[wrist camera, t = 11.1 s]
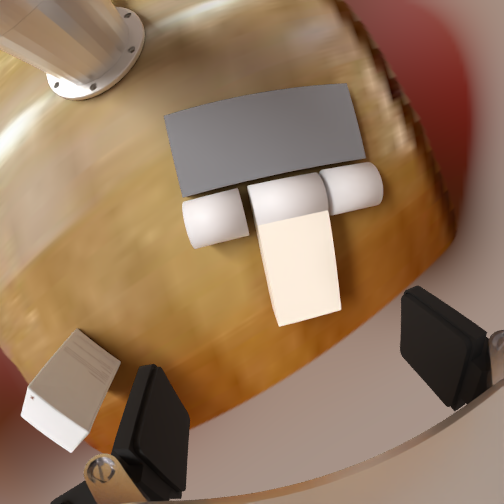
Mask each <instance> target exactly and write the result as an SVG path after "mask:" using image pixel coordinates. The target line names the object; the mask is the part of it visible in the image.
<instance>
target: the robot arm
mask: <svg viewBox="0 0 504 504" xmlns="http://www.w3.org/2000/svg"><path fill="white" fill-rule="evenodd" d="M144 40H145V30H144V26H143V23H142V22H141V20H140V18H139V17H138V15H137V14H136V13H135V12H133V11H131V10H130V9H127V8H123V7H115V6H114V5H113V3H112V2H111V0H0V50H2V51H4V52H6V53H8V54H10V55H12V56H14V57H16V58H18V59H20V60H22V61H24V62H26V63H28V64H30V65H32V66H34V67H36V68H38V69H40V70H42V71H44V72H45V73H47V80H48V83H49V86H50V88H51V89H52V90H53V92H54V93H56V94H57V95H59V96H60V97H63V98H65V99H69V100H84V99H88V98H92V97H94V96H97V95H99V94H101V93H103V92H104V91H106V90H108V89H110V88H111V87H112V86H113V85H115V84H116V83H117V82H119V81H120V80H121V79H122V78H123V77H124V76H125V75H126V74H127V73H128V71H129V70H130V69H131V68H132V66H133V65H134V64H135V62H136V60H137V59H138V57H139V55H140V53H141V50H142V48H143V44H144ZM486 334H487V332H486V331H485V330H483V329H482V328H480V327H479V326H478V325H476V324H475V323H473V322H472V321H471V320H469V319H468V318H466V317H465V316H463V315H462V314H461V313H459V312H458V311H456V310H455V309H453V308H452V307H450V306H449V305H447V304H446V303H444V302H443V301H441V300H440V299H438V298H437V297H435V296H434V295H432V294H431V293H429V292H428V291H426V290H425V289H423V288H421V287H420V286H415V287H413V288H410V289H408V290H406V291H405V292H404V295H403V296H402V298H401V342H400V351H401V355H402V357H403V358H404V359H405V360H406V361H407V362H408V363H409V364H410V366H411V367H412V368H413V369H414V370H415V371H416V372H417V373H418V374H419V376H420V377H421V378H422V379H423V380H424V381H425V382H426V383H427V385H428V386H429V387H430V388H431V389H432V390H433V391H434V392H435V394H436V395H437V396H438V397H439V398H440V400H441V401H442V402H443V403H444V404H445V405H446V406H447V407H450V406H451V408H452V409H453V410H454V411H456V410H457V409H459V408H460V407H462V406H463V405H465V403H466V404H467V405H466V406H465V407H463V408H462V409H460V410H459V411H457V412H456V413H454V414H453V415H451V416H450V417H448V418H446V419H445V420H443V421H442V422H440V423H438V424H437V425H435V426H433V427H432V428H430V429H428V430H427V431H425V432H423V433H421V434H420V435H418V436H416V437H414V438H412V439H411V440H409V441H407V442H405V443H403V444H401V445H399V446H397V447H395V448H393V449H391V450H388V451H386V452H384V453H382V454H380V455H378V456H376V457H373V458H371V459H369V460H366V461H364V462H361V463H358V464H356V465H353V466H351V467H349V468H345V469H343V470H340V471H337V472H334V473H331V474H328V475H325V476H322V477H319V478H316V479H312V480H309V481H305V482H301V483H298V484H294V485H290V486H285V487H281V488H277V489H272V490H267V491H262V492H257V493H251V494H245V495H238V496H231V497H222V498H212V499H200V500H184V501H169V499H181V496H182V491H185V489H186V474H187V456H188V440H189V427H190V418H189V415H188V412H187V411H186V409H185V408H184V406H183V404H182V403H181V401H180V399H179V398H178V396H177V394H176V393H175V391H174V389H173V387H172V386H171V384H170V382H169V380H168V379H167V377H166V375H165V373H164V371H163V369H162V368H161V367H157V366H156V365H155V364H151V365H145V366H140V367H139V369H138V372H137V375H136V378H135V381H134V383H133V386H132V389H131V392H130V395H129V398H128V401H127V404H126V407H125V410H124V413H123V416H122V419H121V422H120V425H119V429H118V432H117V435H116V438H115V442H114V445H113V449H112V453H111V455H110V454H99V455H97V456H94V457H93V458H92V459H90V460H89V461H88V462H87V464H86V466H85V468H84V473H83V475H84V479H85V481H83V482H82V483H80V484H79V485H77V486H76V487H74V488H72V489H71V490H69V491H67V492H66V493H64V494H63V495H61V496H59V497H58V498H56V499H54V500H53V501H52V502H51V504H504V330H499V331H496V332H494V333H493V334H492V335H491V336H490V338H489V339H488V338H487V337H486Z"/></svg>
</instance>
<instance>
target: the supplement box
mask: <svg viewBox="0 0 504 504" xmlns="http://www.w3.org/2000/svg"><path fill="white" fill-rule="evenodd" d="M120 363H121V362H120V361H119V360H118V359H116V358H115V357H113V356H112V355H111V354H109V353H108V352H107V351H105V350H104V349H103V348H101V347H100V346H99V345H97V344H96V343H95V342H93V341H92V340H91V339H90V338H88V337H87V336H86V335H85V334H83V333H82V332H81V331H80V330H79V329H76V330H75V331H74V332H73V333H72V334H71V335H70V336H69V338H68V339H67V340H66V341H65V342H64V343H63V345H62V346H61V347H60V348H59V349H58V350H57V351H56V353H55V354H54V355H53V356H52V357H51V359H50V360H49V361H48V362H47V363H46V365H45V366H44V367H43V368H42V369H41V371H40V372H39V373H38V374H37V376H36V377H35V378H34V379H33V381H32V382H31V383H30V384H29V386H28V388H27V393H26V397H25V401H24V405H23V409H22V413H21V417H23V418H24V419H25V420H26V421H28V422H29V423H30V424H31V425H33V426H34V427H35V428H37V429H38V430H39V431H41V432H42V433H43V434H45V435H46V436H47V437H49V438H50V439H51V440H53V441H54V442H56V443H57V444H59V445H60V446H61V447H63V448H65V449H66V450H67V451H69V452H70V453H72V452H73V451H74V450H75V448H76V447H77V446H78V445H79V444H80V443H81V442H82V441H83V439H84V438H85V437H86V436H87V435H88V434H89V433H90V430H91V427H92V424H93V422H94V420H95V417H96V415H97V413H98V411H99V408H100V406H101V404H102V402H103V400H104V398H105V395H106V393H107V391H108V389H109V387H110V385H111V383H112V381H113V379H114V376H115V374H116V372H117V370H118V368H119V366H120Z"/></svg>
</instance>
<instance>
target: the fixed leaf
mask: <svg viewBox="0 0 504 504" xmlns="http://www.w3.org/2000/svg"><path fill="white" fill-rule="evenodd" d="M164 119H165V124H166V129H167V133H168V138H169V142H170V147H171V151H172V155H173V160H174V164H175V168H176V172H177V176H178V180H179V184H180V189H181V192H182V196H183V197H187V196H190V195H194V194H198V193H201V192H205V191H209V190H213V189H217V188H221V187H225V186H229V185H233V184H237V183H241V182H245V181H249V180H254V179H258V178H263V177H267V176H272V175H276V174H281V173H286V172H291V171H296V170H301V169H306V168H311V167H316V166H322V165H328V164H333V163H339V162H345V161H351V160H358V159H364V158H366V157H365V152H364V147H363V143H362V139H361V134H360V130H359V126H358V122H357V118H356V115H355V111H354V107H353V104H352V100H351V97H350V93H349V90H348V87H347V83H344V84H328V85H315V86H305V87H296V88H288V89H281V90H274V91H267V92H261V93H256V94H250V95H245V96H240V97H235V98H230V99H225V100H221V101H217V102H212V103H208V104H204V105H200V106H196V107H193V108H189V109H185V110H182V111H178V112H175V113H172V114H168V115H165V116H164ZM319 175H320V177H321V179H322V181H323V183H324V186H325V189H326V193H327V198H328V212H329V215H336V214H341V213H345V212H349V211H354V210H358V209H362V208H367V207H371V206H376V205H379V204H380V203H381V201H382V198H383V184H382V180H381V176H380V174H379V172H378V170H377V168H376V167H375V166H374V165H373V164H372V163H370V162H365V163H358V164H352V165H346V166H340V167H335V168H329V169H324V170H321V171H320V172H319ZM182 209H183V217H184V222H185V226H186V230H187V233H188V237H189V239H190V242H191V244H192V246H193V247H194V249H197V248H201V247H205V246H208V245H212V244H216V243H220V242H224V241H228V240H232V239H236V238H240V237H244V236H248V235H249V231H248V226H247V222H246V218H245V213H244V209H243V205H242V201H241V198H240V194H239V190H238V188H235V189H231V190H227V191H223V192H219V193H215V194H211V195H207V196H204V197H200V198H196V199H192V200H189V201H185V202H183V205H182Z"/></svg>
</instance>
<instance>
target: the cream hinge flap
mask: <svg viewBox="0 0 504 504" xmlns="http://www.w3.org/2000/svg"><path fill="white" fill-rule="evenodd" d="M247 189H248V195H249V201H250V205H251V210H252V214H253V218H254V223H255V228H256V233H257V237H258V242H259V246H260V251H261V255H262V260H263V265H264V269H265V274H266V279H267V283H268V288H269V293H270V297H271V302H272V307H273V311H274V314H275V316H276V319H277V322H278V325H279V326H283V325H287V324H291V323H295V322H299V321H303V320H307V319H310V318H314V317H318V316H321V315H325V314H328V313H332V312H335V311H339V310H341V302H340V292H339V283H338V275H337V266H336V259H335V251H334V244H333V237H332V231H331V224H330V218H329V212H328V198H327V193H326V189H325V186H324V183H323V181H322V179H321V177H320V175H319V174H318V173H316V172H314V173H309V174H303V175H298V176H292V177H287V178H282V179H277V180H272V181H267V182H262V183H258V184H253V185H248V186H247Z"/></svg>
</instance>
